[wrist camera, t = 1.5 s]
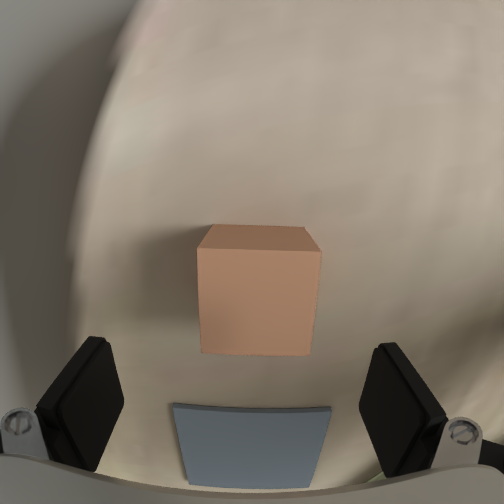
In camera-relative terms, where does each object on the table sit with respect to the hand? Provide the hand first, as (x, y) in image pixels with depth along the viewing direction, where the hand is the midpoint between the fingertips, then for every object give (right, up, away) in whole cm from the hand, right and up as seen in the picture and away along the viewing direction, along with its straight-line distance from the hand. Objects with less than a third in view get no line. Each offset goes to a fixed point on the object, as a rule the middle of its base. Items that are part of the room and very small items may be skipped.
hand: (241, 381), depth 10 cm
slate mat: (0, -16, +17) cm, 23 cm away
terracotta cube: (+1, +3, +12) cm, 12 cm away
